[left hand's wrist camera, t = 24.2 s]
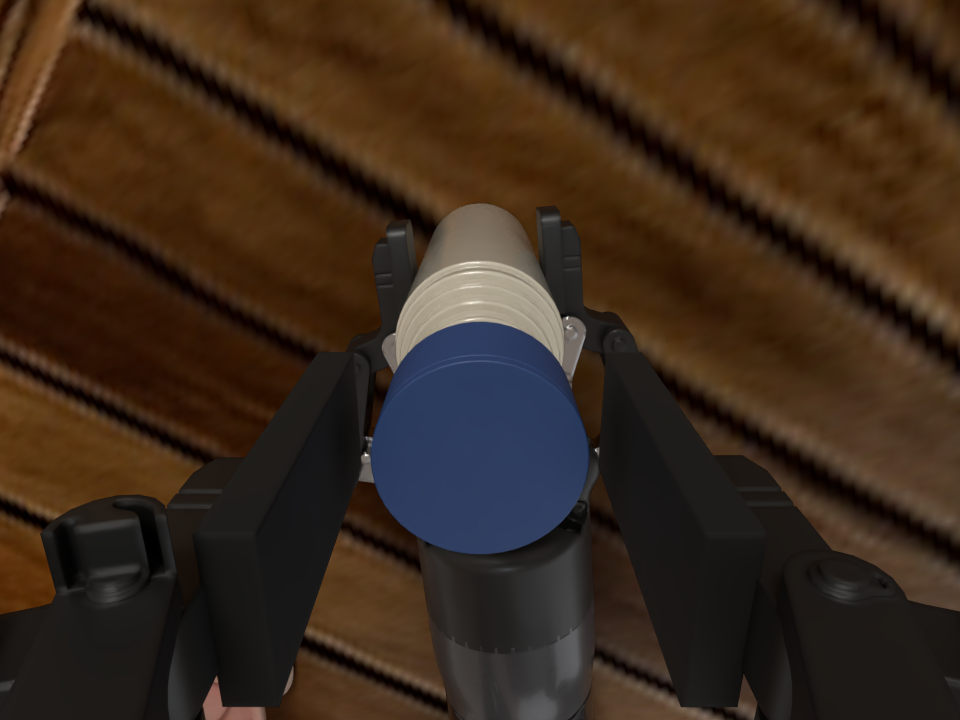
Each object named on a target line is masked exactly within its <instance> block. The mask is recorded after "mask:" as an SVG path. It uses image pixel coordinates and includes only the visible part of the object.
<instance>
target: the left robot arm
mask: <svg viewBox="0 0 960 720" xmlns="http://www.w3.org/2000/svg"><path fill="white" fill-rule="evenodd" d="M361 466H362V461H361V447H360V432H359V418H358V404H357V389H356V375H355V361H354V352H318V354H317V355H316V357H315V358H314V360H313V361H312V362H311V364H310V365H309V367H308V368H307V370H306V371H305V373H304V374H303V375H302V377H301V378H300V380H299V381H298V383H297V384H296V385H295V387H294V388H293V390H292V391H291V393H290V394H289V396H288V397H287V398H286V400H285V401H284V403H283V404H282V406H281V407H280V409H279V410H278V411H277V413H276V414H275V416H274V417H273V419H272V420H271V421H270V423H269V424H268V426H267V427H266V429H265V430H264V432H263V433H262V434H261V436H260V437H259V439H258V440H257V442H256V443H255V444H254V446H253V447H252V449H251V450H250V452H249V453H248V455H247V456H246V457H245V458H216V459H215V460H213V461H211V462H210V463H208V464H207V465H205V466H203V467H202V468H200V469H199V470H197V471H195V472H194V473H193V474H192V475H191V476H190V478H189V479H188V480H187V481H186V483H185V484H184V485H183V486H182V487H181V489H180V490H179V494H176V495H175V496H174V497H173V499H172V500H171V501H170V502H169V503H168V505H167V509H165V505H164V504H162V503H161V502H160V501H158V500H157V499H156V498H153V497H148V496H143V495H117V496H113V497H108V498H103V499H99V500H94V501H92V502H89V503H86V504H84V505H81V506H79V507H76V508H73V509H71V510H69V511H68V512H66V513H65V514H63V515H61V516H60V517H58V518H56V519H55V520H53V521H52V522H51V523H50V524H49V525H48V526H47V527H46V528H45V529H44V530H43V532H42V533H41V534H40V535H41V538H42V542H43V546H44V549H45V553H46V557H47V560H48V564H49V568H50V571H51V575H52V579H53V582H54V586H55V590H56V595H55V597H54V599H53V601H52V603H51V604H47V605H43V606H40V607H35V608H30V609H25V610H20V611H15V612H10V613H6V614H1V615H0V720H206V718H205V713H204V708H203V704H204V701H205V699H206V697H207V695H208V693H209V691H210V689H211V687H212V685H213V682H214V680H215V678H216V676H217V679H218V685H219V690H220V696H221V701H222V707H279V706H280V703H281V700H282V697H283V694H284V691H285V688H286V685H287V682H288V679H289V676H290V674H291V671H292V668H293V665H294V662H295V659H296V656H297V653H298V650H299V647H300V644H301V641H302V638H303V636H304V633H305V630H306V627H307V624H308V621H309V618H310V615H311V612H312V609H313V606H314V603H315V601H316V598H317V595H318V592H319V589H320V586H321V583H322V580H323V577H324V574H325V571H326V568H327V565H328V563H329V560H330V557H331V554H332V551H333V548H334V545H335V542H336V539H337V536H338V533H339V530H340V527H341V525H342V522H343V519H344V516H345V513H346V510H347V507H348V504H349V501H350V498H351V495H352V492H353V489H354V487H355V484H356V481H357V478H358V475H359V472H360V469H361ZM598 466H599V469H600V472H601V475H602V478H603V481H604V484H605V487H606V490H607V492H608V495H609V498H610V501H611V504H612V507H613V510H614V513H615V516H616V519H617V522H618V525H619V527H620V530H621V533H622V536H623V539H624V542H625V545H626V548H627V551H628V554H629V557H630V560H631V563H632V565H633V568H634V571H635V574H636V577H637V580H638V583H639V586H640V589H641V592H642V595H643V598H644V601H645V603H646V606H647V609H648V612H649V615H650V618H651V621H652V624H653V627H654V630H655V633H656V636H657V638H658V641H659V644H660V647H661V650H662V653H663V656H664V659H665V662H666V665H667V668H668V671H669V674H670V676H671V679H672V682H673V685H674V688H675V691H676V694H677V697H678V700H679V703H680V706H681V707H738V701H739V696H740V690H741V685H742V679H743V673H744V675H745V677H746V679H747V681H748V683H749V685H750V687H751V690H752V692H753V694H754V696H755V698H756V700H757V702H758V703H757V708H756V713H755V718H754V720H960V612H959V611H954V610H950V609H945V608H940V607H935V606H930V605H925V604H921V603H917V602H913V601H909V600H907V598H906V596H905V594H904V592H903V591H902V589H901V588H900V587H899V585H898V584H897V583H896V582H895V580H894V579H893V578H892V577H891V576H889V575H888V574H886V573H885V572H884V571H882V570H881V569H879V568H878V567H877V566H875V565H873V564H871V563H869V562H866V561H864V560H862V559H860V558H858V557H855V556H853V555H849V554H845V553H841V552H837V551H833V550H832V549H831V548H830V547H829V546H828V545H827V543H826V542H825V541H824V540H823V538H822V537H821V536H820V535H819V534H818V532H817V531H816V530H815V529H814V527H813V526H812V525H811V524H810V523H809V521H808V520H807V519H806V518H805V516H804V515H803V514H802V513H801V512H800V510H799V509H798V508H797V507H796V506H793V502H792V501H791V499H790V498H789V497H788V496H787V494H786V493H785V492H782V491H781V487H780V486H779V485H778V483H777V482H776V481H775V480H774V479H773V477H772V476H771V475H770V474H769V472H768V471H767V470H765V469H764V468H762V467H760V466H759V465H757V464H756V463H754V462H752V461H751V460H749V459H748V458H746V457H744V456H743V455H712V453H711V452H710V450H709V449H708V447H707V446H706V445H705V443H704V442H703V440H702V439H701V437H700V436H699V434H698V433H697V432H696V430H695V429H694V427H693V426H692V424H691V423H690V421H689V420H688V419H687V417H686V416H685V414H684V413H683V411H682V410H681V409H680V407H679V406H678V404H677V403H676V401H675V400H674V398H673V397H672V396H671V394H670V393H669V391H668V390H667V388H666V387H665V386H664V384H663V383H662V381H661V380H660V378H659V377H658V375H657V374H656V373H655V371H654V370H653V368H652V367H651V365H650V364H649V362H648V361H647V360H646V358H645V357H644V355H643V354H642V352H606V361H605V375H604V389H603V404H602V418H601V432H600V447H599V461H598Z"/></svg>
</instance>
